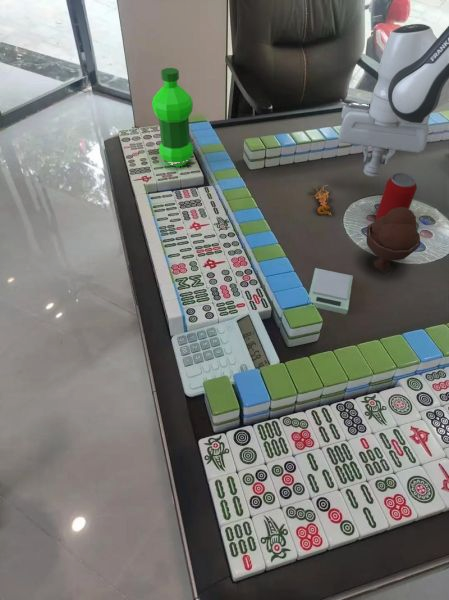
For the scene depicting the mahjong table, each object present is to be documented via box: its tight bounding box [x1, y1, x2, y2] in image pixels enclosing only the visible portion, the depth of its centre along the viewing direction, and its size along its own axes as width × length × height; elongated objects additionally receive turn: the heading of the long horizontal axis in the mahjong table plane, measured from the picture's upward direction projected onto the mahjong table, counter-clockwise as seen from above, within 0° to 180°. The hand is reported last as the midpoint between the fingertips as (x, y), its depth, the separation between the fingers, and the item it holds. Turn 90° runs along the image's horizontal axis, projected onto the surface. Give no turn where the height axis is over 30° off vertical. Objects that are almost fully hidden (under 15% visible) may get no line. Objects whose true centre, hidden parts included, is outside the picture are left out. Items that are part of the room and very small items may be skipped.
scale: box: [308, 267, 354, 315], centre depth 89 cm, size 8×10×3 cm
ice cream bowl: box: [366, 207, 421, 271], centre depth 90 cm, size 11×11×15 cm
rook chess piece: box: [363, 146, 387, 178], centre depth 107 cm, size 4×4×8 cm
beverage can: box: [375, 172, 418, 220], centre depth 103 cm, size 7×7×12 cm
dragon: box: [311, 184, 332, 216], centre depth 111 cm, size 4×11×4 cm, turn 178°
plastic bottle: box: [151, 67, 195, 168], centre depth 116 cm, size 10×10×25 cm
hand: (374, 162), depth 108 cm, fingers closed on rook chess piece, 3 cm apart
